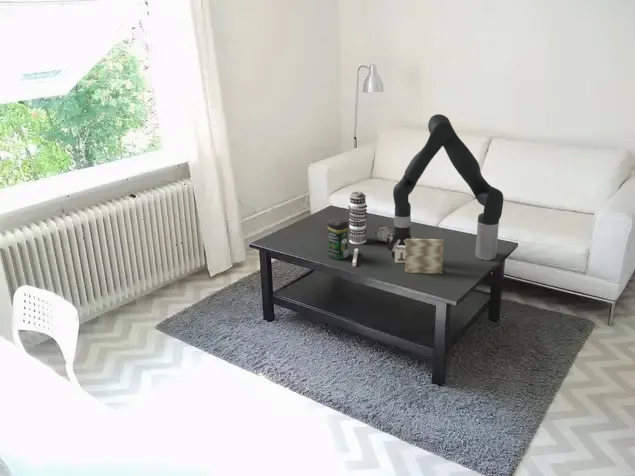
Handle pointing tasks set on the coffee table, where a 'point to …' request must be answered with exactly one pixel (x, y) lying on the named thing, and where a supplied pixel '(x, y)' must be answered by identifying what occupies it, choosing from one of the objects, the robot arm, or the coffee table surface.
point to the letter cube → (400, 254)
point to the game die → (383, 233)
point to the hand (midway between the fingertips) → (401, 258)
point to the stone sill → (355, 257)
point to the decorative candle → (357, 218)
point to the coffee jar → (337, 238)
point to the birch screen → (424, 255)
